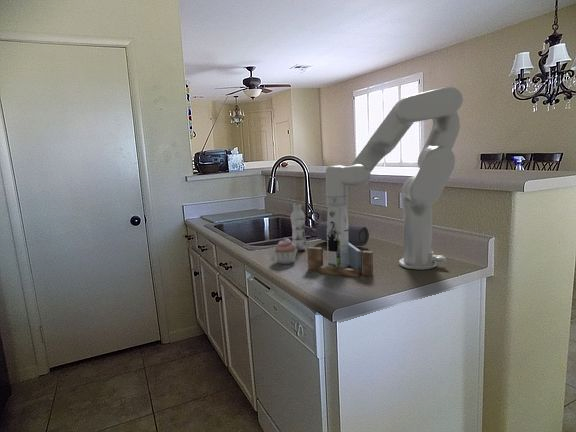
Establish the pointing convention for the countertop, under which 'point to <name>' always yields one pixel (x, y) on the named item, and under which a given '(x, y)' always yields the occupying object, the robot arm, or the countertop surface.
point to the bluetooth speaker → (355, 234)
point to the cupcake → (285, 251)
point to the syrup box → (339, 251)
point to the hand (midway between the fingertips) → (337, 247)
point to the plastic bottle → (298, 227)
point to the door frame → (317, 264)
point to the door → (355, 258)
